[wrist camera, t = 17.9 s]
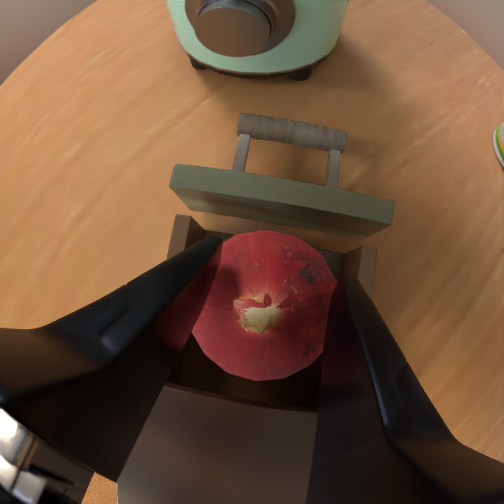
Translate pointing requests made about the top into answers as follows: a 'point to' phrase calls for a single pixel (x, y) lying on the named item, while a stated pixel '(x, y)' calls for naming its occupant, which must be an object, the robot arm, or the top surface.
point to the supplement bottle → (499, 143)
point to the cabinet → (219, 451)
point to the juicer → (257, 35)
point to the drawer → (279, 212)
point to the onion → (266, 306)
